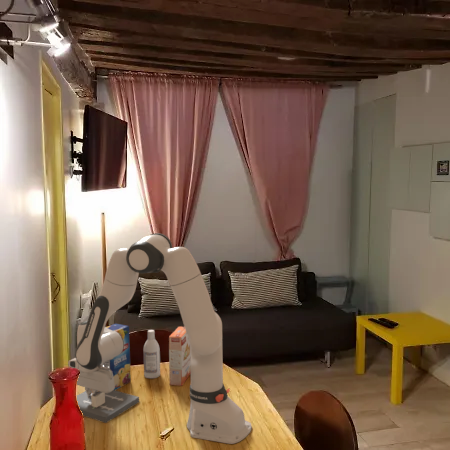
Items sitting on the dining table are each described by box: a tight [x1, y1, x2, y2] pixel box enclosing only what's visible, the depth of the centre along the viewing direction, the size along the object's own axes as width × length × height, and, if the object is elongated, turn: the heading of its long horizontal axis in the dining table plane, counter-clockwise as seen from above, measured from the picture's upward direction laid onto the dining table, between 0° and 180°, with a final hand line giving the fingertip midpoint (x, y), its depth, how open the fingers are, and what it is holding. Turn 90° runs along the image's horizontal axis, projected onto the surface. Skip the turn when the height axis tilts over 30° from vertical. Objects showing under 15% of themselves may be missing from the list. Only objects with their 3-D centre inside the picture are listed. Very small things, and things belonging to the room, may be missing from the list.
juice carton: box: [103, 323, 132, 391], centre depth 200 cm, size 12×8×24 cm, turn 150°
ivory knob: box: [91, 391, 105, 408], centre depth 179 cm, size 2×4×5 cm, turn 150°
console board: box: [76, 389, 140, 424], centre depth 184 cm, size 22×18×2 cm
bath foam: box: [142, 329, 161, 379], centre depth 210 cm, size 7×7×20 cm
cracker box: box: [168, 326, 191, 387], centre depth 206 cm, size 14×6×21 cm, turn 168°
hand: (92, 398), depth 181 cm, fingers closed
